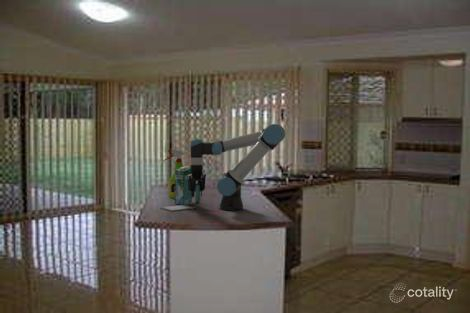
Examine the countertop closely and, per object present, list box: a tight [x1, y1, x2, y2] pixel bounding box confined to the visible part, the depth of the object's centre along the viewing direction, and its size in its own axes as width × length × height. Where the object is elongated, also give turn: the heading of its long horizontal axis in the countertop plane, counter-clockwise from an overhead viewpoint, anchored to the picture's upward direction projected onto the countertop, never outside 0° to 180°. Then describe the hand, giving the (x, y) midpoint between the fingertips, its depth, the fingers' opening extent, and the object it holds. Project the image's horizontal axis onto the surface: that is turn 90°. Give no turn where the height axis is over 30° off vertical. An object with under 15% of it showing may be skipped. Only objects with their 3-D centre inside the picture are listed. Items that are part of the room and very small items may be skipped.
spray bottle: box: [163, 148, 185, 200], centre depth 366 cm, size 14×18×35 cm
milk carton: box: [174, 165, 195, 206], centre depth 339 cm, size 9×9×25 cm
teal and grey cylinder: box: [193, 182, 200, 205], centre depth 316 cm, size 4×4×13 cm
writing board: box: [159, 204, 195, 212], centre depth 321 cm, size 18×13×1 cm
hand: (196, 201), depth 316 cm, fingers closed on teal and grey cylinder, 3 cm apart
